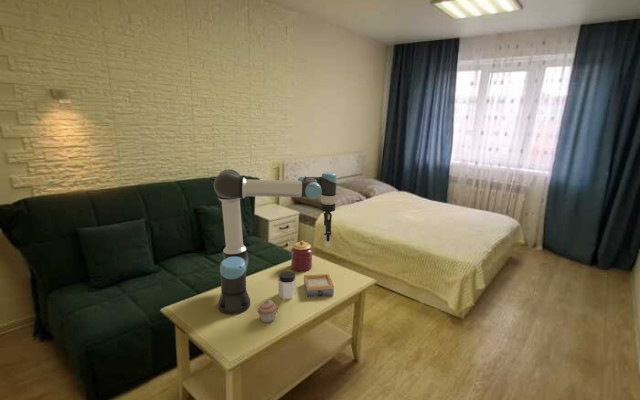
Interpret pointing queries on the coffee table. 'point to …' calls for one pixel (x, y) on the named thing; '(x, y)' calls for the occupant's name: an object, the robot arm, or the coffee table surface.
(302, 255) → the canister
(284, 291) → the jar
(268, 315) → the cupcake
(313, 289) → the small square box
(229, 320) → the coffee table surface
